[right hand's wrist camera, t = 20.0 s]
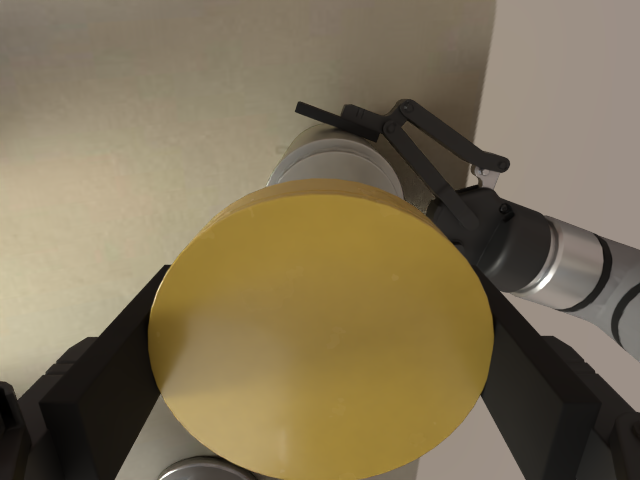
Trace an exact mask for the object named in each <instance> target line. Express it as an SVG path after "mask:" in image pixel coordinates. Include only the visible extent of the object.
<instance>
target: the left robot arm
mask: <svg viewBox="0 0 640 480" xmlns="http://www.w3.org/2000/svg"><path fill="white" fill-rule="evenodd" d="M295 112H297V113H299V114H302V115H304V116H307V117H310V118H312V119H315V120H318V121H320V122H323V123H326V124H328V125H331V126H334V127H336V128H339V129H342V130H344V131H347V132H350V133H352V134H355V135H358V136H360V137H363V138H366V139H368V140H371V141H374V142H377V139H378V137H379V134H380V133H381V134H383V135H384V137H385V138H386V139H387V140H388V141H389V142H390V144H391V145H392V146H393V147H394V148H395V149H396V151H397V152H398V153H399V154H400V155H401V156H402V158H403V159H404V160H405V161H406V162H407V163H408V165H409V166H410V167H411V168H412V169H413V170H414V172H415V173H416V174H417V175H418V176H419V177H420V179H421V180H422V181H423V182H424V183H425V184H426V186H427V187H428V188H429V190H430V191H431V192H432V193H433V194H434V195H435V197H436V199H435V200H431V202H430V204H429V206H428V209H427V215H426V216H427V217H428V218H429V219H430V220H432V221H433V223H434V224H435V225H436V226H437V227H438V228H439V229H440V230H441V231H442V233H443V234H444V235H445V236H446V237H447V238H448V239H449V240H450V241H451V243H452V244H453V245H454V246H455V247H456V248H457V249H458V250H459V252H460V253H461V254H462V255H463V256H464V257H465V258H466V259H467V261H468V262H469V264H470V265H476V266H477V267H478V268H479V269H480V270H481V271H482V272H483V274H484V275H485V276H486V277H487V278H488V279H489V280H490V281H491V282H492V283H493V284H494V285H495V287H496V288H497V289H498V290H499V291H502V292H507V293H510V294H512V295H514V296H516V297H519V298H522V299H525V300H528V301H532V302H535V303H538V304H541V305H544V306H547V307H550V308H553V309H555V310H558V311H562V312H564V313H567V314H570V315H573V316H576V317H578V318H581V319H584V320H587V321H589V322H591V323H593V324H594V325H596V326H597V327H599V328H600V329H601V330H602V331H604V332H605V333H606V334H607V335H608V336H610V337H611V338H612V339H613V340H614V341H616V342H617V343H618V344H619V345H620V346H621V347H622V348H623V349H624V350H625V351H627V352H628V353H629V354H630V355H632V356H633V357H634V358H635V359H636V360H638V361H639V362H640V250H638V249H636V248H633V247H630V246H627V245H624V244H621V243H618V242H615V241H612V240H609V239H606V238H604V237H601V236H598V235H597V234H594V233H592V232H590V231H587V230H584V229H582V228H579V227H576V226H574V225H571V224H569V223H566V222H563V221H561V220H558V219H555V218H552V217H549V216H543V215H542V214H541V213H539V212H537V211H534V210H531V209H529V208H526V207H523V206H521V205H518V204H515V203H513V202H510V201H507V200H505V199H502V198H500V197H499V196H498V195H497V194H496V192H495V191H494V190H493V189H494V187H495V184H496V182H497V179H498V177H499V174H500V173H503V172H505V171H507V170H508V168H509V166H510V161H509V160H508V159H507V158H505V157H502V156H499V155H496V154H493V153H489V152H485V151H482V150H481V149H479V148H478V147H477V146H475V145H474V144H472V143H471V142H470V141H468V140H467V139H466V138H464V137H463V136H461V135H460V134H459V133H457V132H456V131H455V130H453V129H452V128H451V127H449V126H448V125H446V124H445V123H444V122H442V121H441V120H440V119H438V118H437V117H435V116H434V115H433V114H431V113H430V112H429V111H427V110H426V109H424V108H423V107H422V106H420V105H419V104H418V103H416V102H415V101H413V100H411V99H401V100H399V101H398V102H397V103H396V105H395V106H394V108H393V109H392V110H391V111H390V112H389V113H388V114H386V115H382V116H381V115H378V114H375V113H373V112H370V111H367V110H365V109H362V108H360V107H357V106H354V105H352V104H349V105H344V107H343V110H342V113H341V115H340V116H337V115H335V114H332V113H330V112H327V111H324V110H322V109H319V108H316V107H314V106H311V105H308V104H306V103H303V102H301V101H299V102H298V104H297V107H296V110H295ZM406 121H409V122H410V123H411V124H413V125H414V126H416V127H417V128H418V129H420V130H421V131H423V132H424V133H425V134H427V135H428V136H430V137H431V138H432V139H434V140H435V141H437V142H438V143H439V144H441V145H442V146H444V147H445V148H446V149H448V150H449V151H451V152H452V153H453V154H455V155H456V156H458V157H459V158H461V159H462V160H464V161H466V162H468V163H470V164H472V166H471V173H472V174H473V175H475V176H476V177H477V178H478V181H479V182H478V185H474V186H470V187H467V188H463V189H459V190H456V191H454V189H453V188H452V187H451V186H450V185H449V184H448V183H447V182H446V181H445V180H444V178H443V177H442V176H441V175H440V174H439V172H438V171H437V170H436V169H435V168H434V166H433V165H432V164H431V163H430V162H429V160H428V159H427V158H426V157H425V156H424V154H423V153H422V152H421V151H420V150H419V148H418V147H417V146H416V145H415V144H414V143H413V141H412V140H411V139H410V138H409V137H408V135H407V134H406V133H405V132H404V131H403V129H402V128H401V127H402V125H403V124H404V123H405V122H406ZM157 480H257V479H256V478H255V477H254V476H253V475H252V474H251V473H249V472H248V471H247V470H245V469H244V468H242V467H241V466H238V465H236V464H234V463H232V462H229V461H226V460H222V459H218V458H210V457H197V458H189V459H185V460H182V461H179V462H176V463H174V464H172V465H171V466H169V467H168V468H166V469H165V470H164V471H163V472H162V473H161V474H160V475H159V477H158V479H157Z"/></svg>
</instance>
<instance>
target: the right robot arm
mask: <svg viewBox="0 0 640 480" xmlns="http://www.w3.org/2000/svg"><path fill="white" fill-rule="evenodd" d="M170 267H171V265H164V266H163V267H162V268H161V269H160V271H159V272H158V273H157V274H156V275H155V276H154V277H153V278H152V279H151V280H150V281H149V283H148V284H147V285H146V286H145V287H144V288H143V289H142V290H141V291H140V292H139V293H138V294H137V296H136V297H135V298H134V299H133V300H132V301H131V302H130V303H129V304H128V305H127V306H126V308H125V309H124V310H123V311H122V312H121V313H120V314H119V315H118V316H117V317H116V318H115V320H114V321H113V322H112V323H111V324H110V325H109V326H108V327H107V328H106V329H105V330H104V332H103V333H102V334H101V335H100V336H99V337H87V338H85V339H84V340H82V341H80V342H79V343H77V344H76V345H74V346H72V347H71V348H69V349H68V350H67V351H66V352H65V353H64V354H63V355H62V356H61V357H60V358H59V359H58V360H57V361H56V364H53V365H52V366H51V367H50V368H49V369H48V370H47V371H46V374H45V375H42V376H41V377H40V378H39V379H38V380H37V381H36V382H35V383H34V384H33V385H32V386H31V387H30V388H29V389H28V390H27V391H26V392H25V393H24V394H23V395H22V397H21V398H20V399H19V400H18V401H17V398H16V395H15V392H14V389H13V387H12V385H10V384H8V383H7V382H1V381H0V480H115V478H116V476H117V474H118V472H119V470H120V468H121V467H122V465H123V463H124V461H125V459H126V457H127V455H128V453H129V452H130V450H131V448H132V446H133V444H134V442H135V440H136V438H137V437H138V435H139V433H140V431H141V429H142V427H143V425H144V424H145V422H146V420H147V418H148V416H149V414H150V412H151V410H152V409H153V407H154V405H155V403H156V401H157V399H158V397H159V396H160V394H161V393H160V391H159V389H158V387H157V384H156V381H155V378H154V375H153V372H152V369H151V363H150V358H149V352H148V325H149V319H150V312H151V308H152V305H153V302H154V299H155V296H156V292H157V290H158V288H159V286H160V284H161V282H162V280H163V278H164V276H165V274H166V272H167V271H168V269H169V268H170ZM471 267H472V268H473V270H474V271H475V273H476V275H477V276H478V278H479V280H480V282H481V284H482V286H483V289H484V291H485V293H486V295H487V298H488V302H489V306H490V309H491V313H492V318H493V328H494V345H493V351H492V356H491V361H490V366H489V372H488V376H487V380H486V383H485V386H484V388H483V391H482V393H481V397H482V399H483V401H484V403H485V404H486V406H487V408H488V410H489V412H490V414H491V416H492V417H493V419H494V421H495V423H496V425H497V427H498V429H499V431H500V432H501V434H502V436H503V438H504V440H505V442H506V444H507V446H508V447H509V449H510V451H511V453H512V455H513V457H514V459H515V460H516V462H517V464H518V466H519V468H520V470H521V472H522V474H523V475H524V477H525V479H526V480H640V413H639V412H636V411H635V410H634V409H633V408H632V407H631V406H630V405H629V404H628V403H627V402H626V401H625V400H624V399H623V398H622V397H621V396H620V395H619V394H618V393H617V392H616V391H615V390H614V389H613V388H612V387H611V386H610V385H609V384H608V383H607V382H606V381H605V380H604V379H603V378H602V377H601V376H600V375H599V374H596V373H595V370H594V369H593V368H592V367H591V366H590V365H589V364H588V363H585V362H584V359H583V358H582V357H581V356H580V355H579V354H578V353H577V352H576V351H575V350H574V349H573V348H572V347H570V346H569V345H567V344H565V343H564V342H562V341H560V340H559V339H557V338H556V337H554V336H540V335H539V333H538V332H537V331H536V330H535V329H534V328H533V327H532V326H531V325H530V324H529V323H528V321H527V320H526V319H525V318H524V317H523V316H522V315H521V314H520V313H519V312H518V311H517V309H516V308H515V307H514V306H513V305H512V304H511V303H510V302H509V301H508V300H507V299H506V298H505V296H504V295H503V294H502V293H501V292H500V291H499V290H498V289H497V288H496V287H495V285H494V284H493V283H492V282H491V281H490V280H489V279H488V278H487V277H486V276H485V275H484V274H483V272H482V271H481V270H480V269H479V268H478V267H477V266H476V265H471Z"/></svg>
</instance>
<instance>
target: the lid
mask: <svg viewBox="0 0 640 480" xmlns="http://www.w3.org/2000/svg"><path fill="white" fill-rule="evenodd" d="M493 345H494V328H493V318H492V313H491V309H490V306H489V302H488V298H487V295H486V293H485V291H484V289H483V286H482V284H481V282H480V280H479V278H478V276H477V275H476V273H475V271H474V270H473V268H472V267H471V265H470V264H469V262H468V261H467V259H466V258H465V257H464V256H463V255H462V254H461V253H460V252H459V250H458V249H457V248H456V247H455V246H454V245H453V244H452V243H451V241H450V240H449V239H448V238H447V237H446V236H445V235H444V234H443V233H442V231H441V230H440V229H439V228H438V227H437V226H436V225H435V224H434V223H433V221H432V220H430V219H429V218H428V217H427V216H426V215H424V214H423V213H422V212H421V211H420V210H418V209H417V208H416V207H414V206H413V205H411V204H409V203H408V202H406V201H404V200H403V199H401V198H400V197H398V196H395V195H393V194H391V193H389V192H386V191H384V190H382V189H380V188H377V187H373V186H370V185H366V184H363V183H359V182H354V181H348V180H341V179H327V178H310V179H301V180H293V181H287V182H283V183H279V184H275V185H271V186H268V187H265V188H263V189H260V190H258V191H255V192H253V193H250V194H248V195H246V196H244V197H243V198H241V199H239V200H237V201H236V202H234V203H232V204H230V205H229V206H228V207H226V208H225V209H224V210H222V211H221V212H220V213H218V214H217V215H216V216H214V217H213V218H212V219H211V220H210V222H209V223H208V224H207V225H206V226H205V227H204V228H203V229H202V230H201V231H200V232H199V233H198V234H197V235H196V236H195V237H194V239H193V240H192V241H191V242H190V243H189V244H188V245H187V246H186V248H185V249H184V250H183V251H182V252H181V253H180V254H179V256H178V257H177V258H176V260H175V261H174V263H173V264H172V265H171V267H170V268H169V269H168V271H167V272H166V274H165V276H164V278H163V280H162V282H161V284H160V286H159V288H158V290H157V292H156V296H155V299H154V302H153V305H152V308H151V312H150V319H149V325H148V352H149V358H150V363H151V369H152V372H153V375H154V378H155V381H156V384H157V387H158V389H159V391H160V393H161V395H162V397H163V399H164V401H165V403H166V404H167V406H168V407H169V408H170V410H171V411H172V413H173V414H174V416H175V417H176V418H177V420H178V421H179V422H180V423H181V424H182V425H183V426H184V427H185V429H186V430H187V431H188V432H189V433H190V434H191V435H193V436H194V437H195V438H196V439H197V440H198V441H199V442H201V443H202V444H203V445H204V446H206V447H207V448H209V449H210V450H212V451H213V452H214V453H216V454H217V455H219V456H221V457H223V458H225V459H226V460H228V461H230V462H232V463H234V464H236V465H238V466H241V467H243V468H245V469H248V470H250V471H253V472H256V473H259V474H263V475H266V476H269V477H274V478H278V479H283V480H358V479H364V478H368V477H372V476H376V475H379V474H383V473H386V472H388V471H391V470H394V469H396V468H399V467H402V466H404V465H406V464H408V463H410V462H412V461H414V460H416V459H417V458H419V457H421V456H422V455H424V454H426V453H427V452H429V451H430V450H432V449H433V448H435V447H436V446H437V445H439V444H440V443H441V442H442V441H443V440H445V439H446V438H447V437H448V436H449V435H450V434H451V433H452V432H453V431H454V430H455V429H456V428H457V427H458V426H459V425H460V424H461V423H462V422H463V421H464V419H465V418H466V417H467V415H468V414H469V412H470V411H471V410H472V408H473V407H474V405H475V404H476V402H477V400H478V398H479V396H480V395H481V393H482V391H483V388H484V386H485V383H486V380H487V376H488V372H489V366H490V361H491V356H492V351H493Z"/></svg>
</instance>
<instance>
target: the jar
mask: <svg viewBox="0 0 640 480" xmlns="http://www.w3.org/2000/svg"><path fill="white" fill-rule="evenodd" d="M310 178H327V179H341V180H348V181H354V182H359V183H363V184H366V185H370V186H373V187H377V188H380V189H382V190H384V191H386V192H389V193H391V194H393V195H395V196H398V197H400V198H401V199H403V200H404V196H403V190H402V187H401V183H400V181H399V179H398V177H397V175H396V173H395V171H394V170H393V168H392V167H391V165H390V164H389V163H388V162H387V161H386V159H385V158H384V157H383V156H382V155H381V154H380V153H379V152H377V151H376V150H375V149H374V148H373V147H372V146H371V145H370V144H369V143H368V142H367V141H366V140H365V139H364V138H363V137H360V136H358V135H355V134H352V133H350V132H347V131H344V130H342V129H339V128H336V127H334V126H331V125H328V124H320V125H316V126H313V127H311V128H309V129H307V130H305V131H304V132H302V133H301V134H300V135H299V136H298V137H297V138H296V139H295V140H294V141H293V142H292V144H291V145H290V147H289V148H288V150H287V151H286V153H285V154H284V156H283V157H282V159H281V160H280V162H279V163H278V165H277V166H276V168H275V169H274V171H273V173H272V174H271V176H270V178H269V180H268V182H267V185H266V187H268V186H271V185H275V184H279V183H283V182H287V181H293V180H301V179H310Z"/></svg>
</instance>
